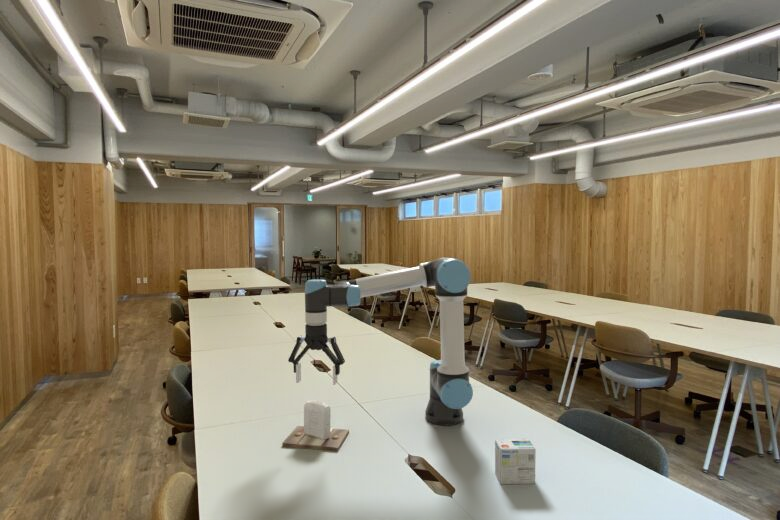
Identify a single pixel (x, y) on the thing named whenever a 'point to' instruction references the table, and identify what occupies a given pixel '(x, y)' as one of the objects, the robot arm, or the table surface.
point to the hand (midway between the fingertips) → (316, 382)
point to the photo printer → (317, 419)
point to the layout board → (316, 439)
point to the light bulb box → (515, 461)
